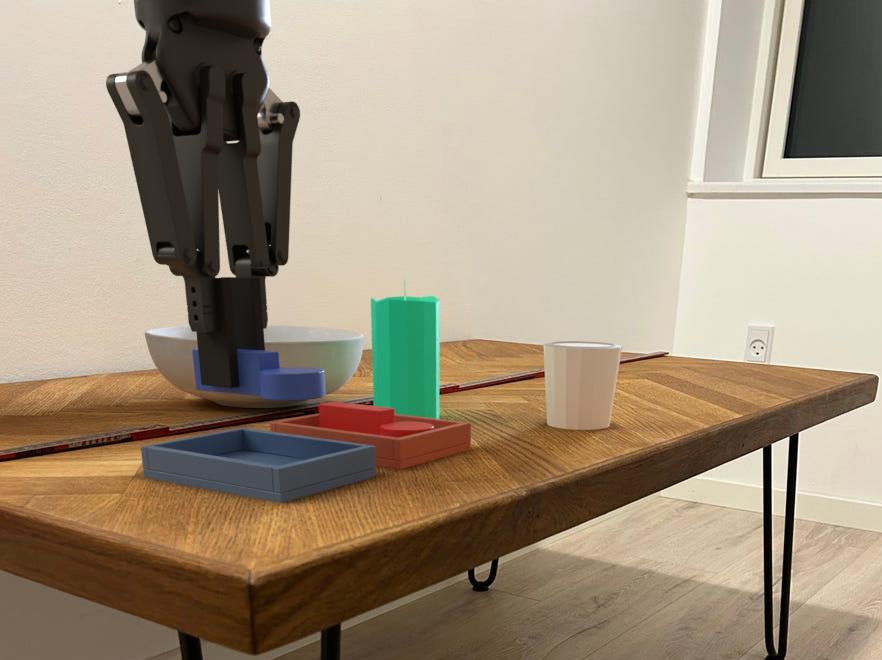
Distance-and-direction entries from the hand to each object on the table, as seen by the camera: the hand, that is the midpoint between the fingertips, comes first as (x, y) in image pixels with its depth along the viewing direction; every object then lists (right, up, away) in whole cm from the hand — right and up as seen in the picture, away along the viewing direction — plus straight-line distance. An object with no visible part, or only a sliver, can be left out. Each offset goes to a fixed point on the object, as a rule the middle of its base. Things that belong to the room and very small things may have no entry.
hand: (234, 383), depth 62 cm
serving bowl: (-6, +7, +33) cm, 35 cm away
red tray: (+8, -2, +11) cm, 14 cm away
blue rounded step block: (+2, -1, -1) cm, 2 cm away
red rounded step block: (+8, -2, +10) cm, 13 cm away
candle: (+9, +3, +25) cm, 27 cm away
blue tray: (+1, -6, +1) cm, 6 cm away
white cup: (+25, +2, +24) cm, 34 cm away
